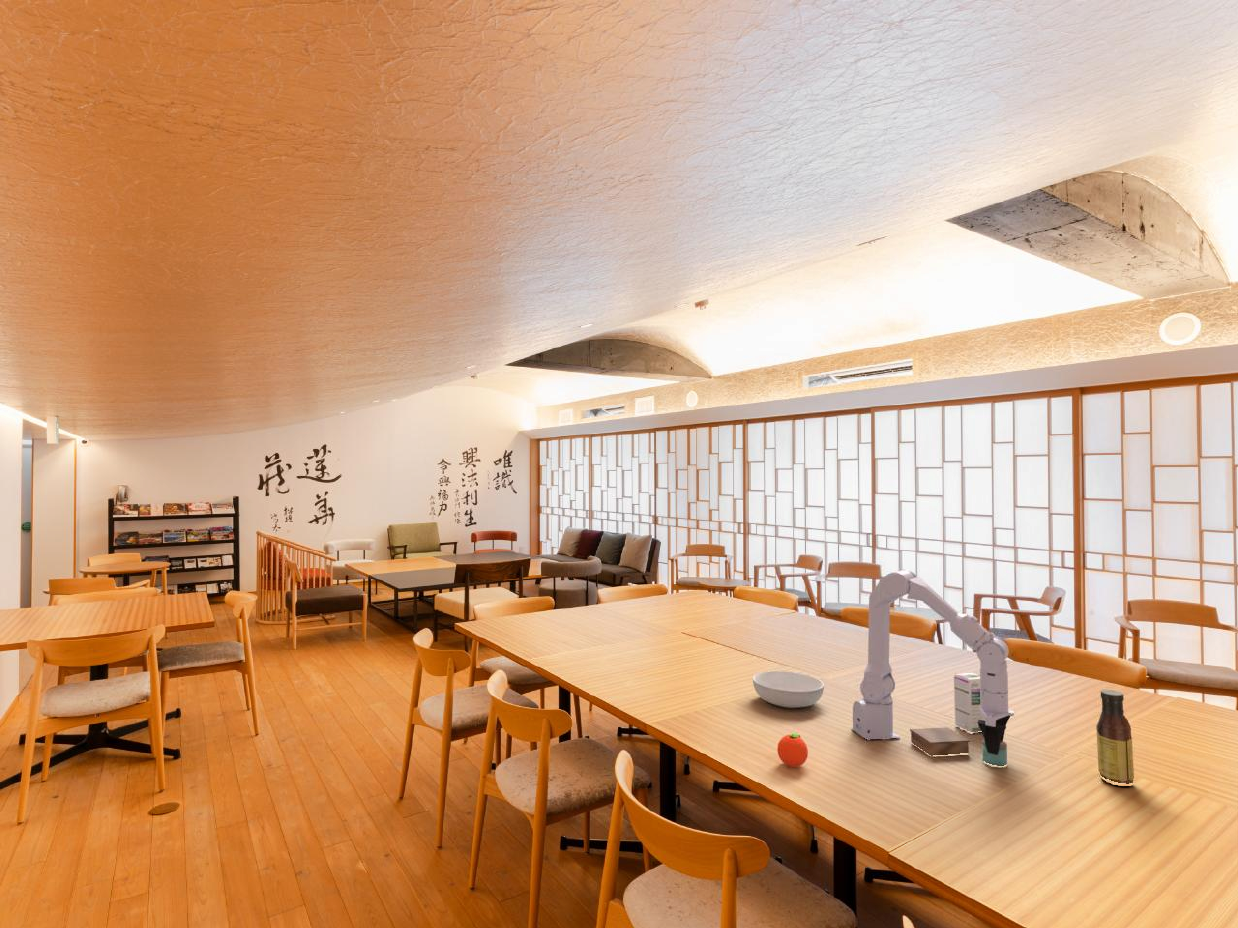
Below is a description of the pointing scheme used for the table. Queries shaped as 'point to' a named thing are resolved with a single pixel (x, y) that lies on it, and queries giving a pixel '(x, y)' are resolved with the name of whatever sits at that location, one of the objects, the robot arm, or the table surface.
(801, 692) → the serving bowl
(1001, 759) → the cylinder
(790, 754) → the tomato
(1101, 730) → the sauce bottle
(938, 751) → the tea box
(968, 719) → the syrup box
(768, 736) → the table surface
